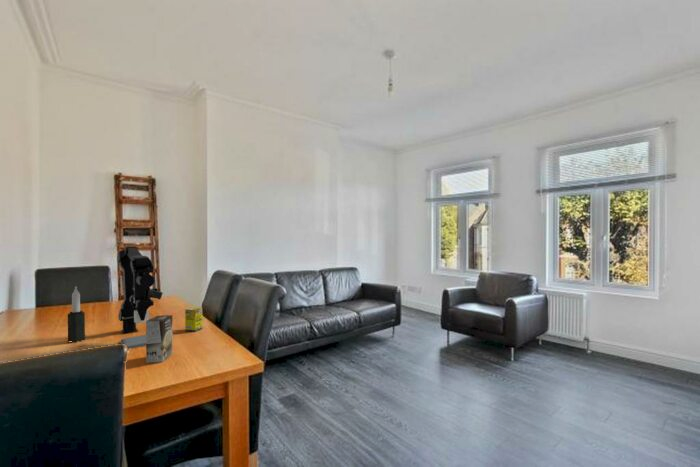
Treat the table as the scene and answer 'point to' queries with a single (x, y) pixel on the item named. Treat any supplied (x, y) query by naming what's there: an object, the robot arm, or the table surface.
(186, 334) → the table surface
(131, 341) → the rubber mat
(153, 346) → the coffee box
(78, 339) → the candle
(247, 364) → the table surface
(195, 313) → the supplement box
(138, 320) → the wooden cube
